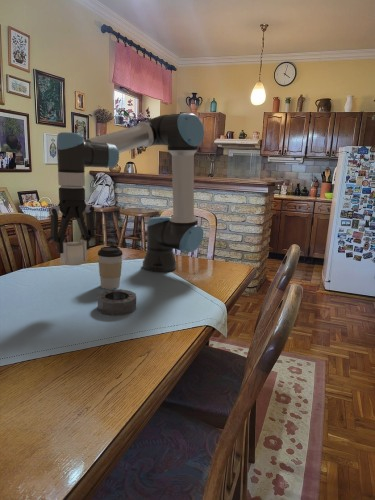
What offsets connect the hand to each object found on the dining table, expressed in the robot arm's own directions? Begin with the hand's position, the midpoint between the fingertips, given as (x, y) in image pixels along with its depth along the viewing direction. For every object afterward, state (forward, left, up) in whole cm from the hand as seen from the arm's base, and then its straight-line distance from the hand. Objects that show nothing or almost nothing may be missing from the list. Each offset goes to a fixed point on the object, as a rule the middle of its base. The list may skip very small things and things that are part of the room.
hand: (74, 261), depth 112 cm
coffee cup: (-19, -9, -15) cm, 26 cm away
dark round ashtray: (-10, +10, -15) cm, 20 cm away
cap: (0, 0, 0) cm, 0 cm away
